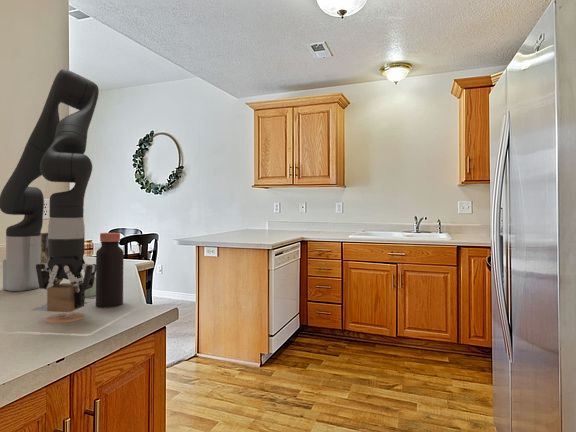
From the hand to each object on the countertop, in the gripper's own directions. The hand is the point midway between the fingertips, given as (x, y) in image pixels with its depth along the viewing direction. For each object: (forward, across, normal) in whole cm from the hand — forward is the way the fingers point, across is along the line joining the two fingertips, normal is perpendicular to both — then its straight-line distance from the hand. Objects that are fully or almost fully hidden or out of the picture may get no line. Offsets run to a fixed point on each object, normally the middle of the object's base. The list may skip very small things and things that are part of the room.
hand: (66, 306), depth 89 cm
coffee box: (+3, +47, -60) cm, 76 cm away
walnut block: (0, 0, 0) cm, 0 cm away
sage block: (+3, +9, -23) cm, 25 cm away
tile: (+3, +8, -10) cm, 13 cm away
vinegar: (+3, -4, -13) cm, 14 cm away
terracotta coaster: (+3, 0, 0) cm, 3 cm away
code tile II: (+3, +9, -23) cm, 25 cm away
